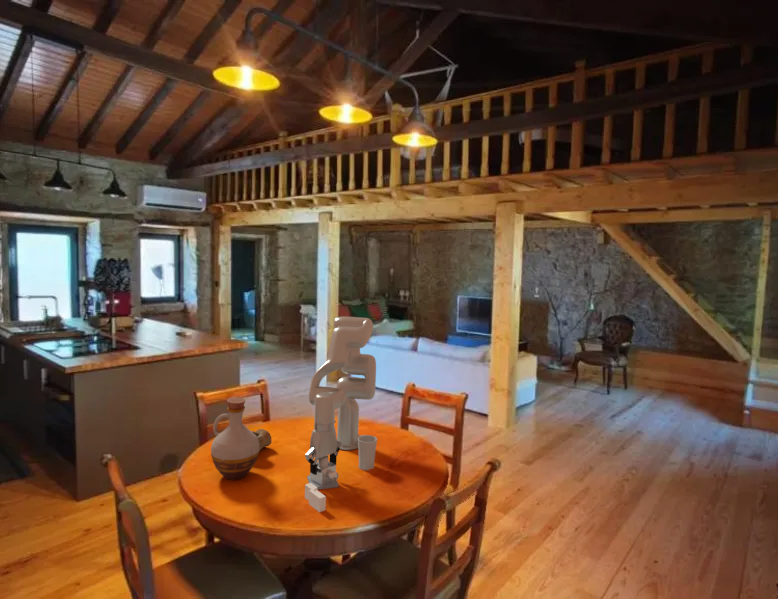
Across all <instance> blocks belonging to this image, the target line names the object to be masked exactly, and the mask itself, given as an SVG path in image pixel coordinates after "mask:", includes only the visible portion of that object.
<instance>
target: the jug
mask: <svg viewBox="0 0 778 599" xmlns="http://www.w3.org/2000/svg"><path fill="white" fill-rule="evenodd" d="M245 402H246V399H245V398H243V397H240V396H239V397H238V396H237V397H236V396H235V397H234V396H233V397H229V398H227V399H226V403H227V408H226V410H227V412H228V413H221V414H219V415H218V416H217V417H216V418H215V420H214V422H213V426H212V427H213V428H212V429H213V434H214V436H215V438H214V439H213V441H212V443H211V447H210V455H211V459H212V462H213V465H214V467H215V469H216V470H217V471H218V472H219V474H221V475H222V477H224V478H225V479H226V480H229V481H230V480H232V481H234V480H235V481H237V480H240V479H244V478H245V477H246V476H247V474H248V473H249V472H250V471H251V470H252V469H253V467H254V466H255V465H256V462H257V460H258V456H259V454H260V451H259V446H260V445H259V440H258V438H257V437H256V435H255V434H254V433H253V432H252V431H253V430H250V429H249V428H248V427H247V426H245V424H243V414H244V411H245V408H246V406H245ZM224 418H227V419H228V421H229V422H228V425H227V426H226V427H225V428H224V429H223V430H222V431H221V432H218V424H219V422H220V421H221V419H224Z"/></svg>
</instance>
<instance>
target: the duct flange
mask: <svg viewBox="0 0 778 599" xmlns="http://www.w3.org/2000/svg"><path fill="white" fill-rule="evenodd" d="M328 461H329V455H327V456H325V457H322V458H319V459H318V461H317V462H318V467H320V468H322V469H323V468H326V467H328ZM306 477H307V481H308V483H312V484H313V485H315V486H316V487H317V488H318V491H319V490H324V489H325V490H326V489H334V488H339V485H340V484H339V482H338V479H337V480H336V481H332V482H329V483H327V484H325V485H323V486H321V485H319V484H317V483H315V482H313V481H311V480H310V474H309V475H307V476H306Z"/></svg>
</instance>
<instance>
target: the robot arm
mask: <svg viewBox="0 0 778 599" xmlns="http://www.w3.org/2000/svg"><path fill="white" fill-rule="evenodd" d="M373 330H374V324H373V321H372V320H371V318H368V317H359V316H358V317H357V316H337V317H335V318H334V320H333V330H332V333H331V336H330V342H329V348H328V352H327V358H326V361H325V362H324V363H323V364H321V365H320V366H319V367H318V368H317V370H316V371H315V372H314V374H313V376H312V378H311V382H310V386H309V391H308V402H309V403H310V404H311V405H313V406H314V417H313V418H314V422H313V423H314V426H313V427H314V428H313V429H312V432H311V436H310V443H309V450H308V451H307V452H306V453H305V454H304V457H305V459H306V461H307V462H308V463H309V465H310V466H309V467H310V468H309V473H310V472H311V473H312V474H314V475H316V474H317V464H316V463H317V462H318V459H319V458H322V457H325V456H329V462H331V463H333V464H335V465H336V466H337V457H338V455H339V451H340V450H341V451H352V450H356V449H358V437H359V436H362V435H363V434H361V435H360V434H359V422H360V421H359V420H360V419H359V418H360V407H359V404H358V402H357V401H356V400H367V401H368V400H372V399H373V398H374V397H375V394H376V385H377V384H376V380H377V379H376V378H377V360H376V357H374V355H372V354H367V353H361V349H363V348H365V346H366V345H367V343H368V342H369V340H370V338H371V336H372V334H373ZM339 370H341V372H342V373H343V374H345V375H352V376H342V377H340V378H339V379H338V380H337V382H336V387H331V386H320V385H321V382H322V380H323V379H324V378H325V377H326V376H327V375H328V374H331V373H334V372H337V371H339ZM353 375H355V377H354V376H353ZM356 376H357V377H356ZM358 376H363V377H358ZM336 409H337V430H336V427H335V424H336V418H335V416H336V414H335V411H336Z"/></svg>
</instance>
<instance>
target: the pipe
mask: <svg viewBox="0 0 778 599" xmlns="http://www.w3.org/2000/svg"><path fill="white" fill-rule="evenodd" d="M251 431H252V432H253V433H254V434H255V435H256V437H257V438H258V440H259V445H260V446H259V452H260V451H261V450H262V449H263V448H266V447H268V446H270V445H271V444H272V436H271V434H270V431H268V430H266V429H264V428H258V429H257V430H256V431H254V430H251Z"/></svg>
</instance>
